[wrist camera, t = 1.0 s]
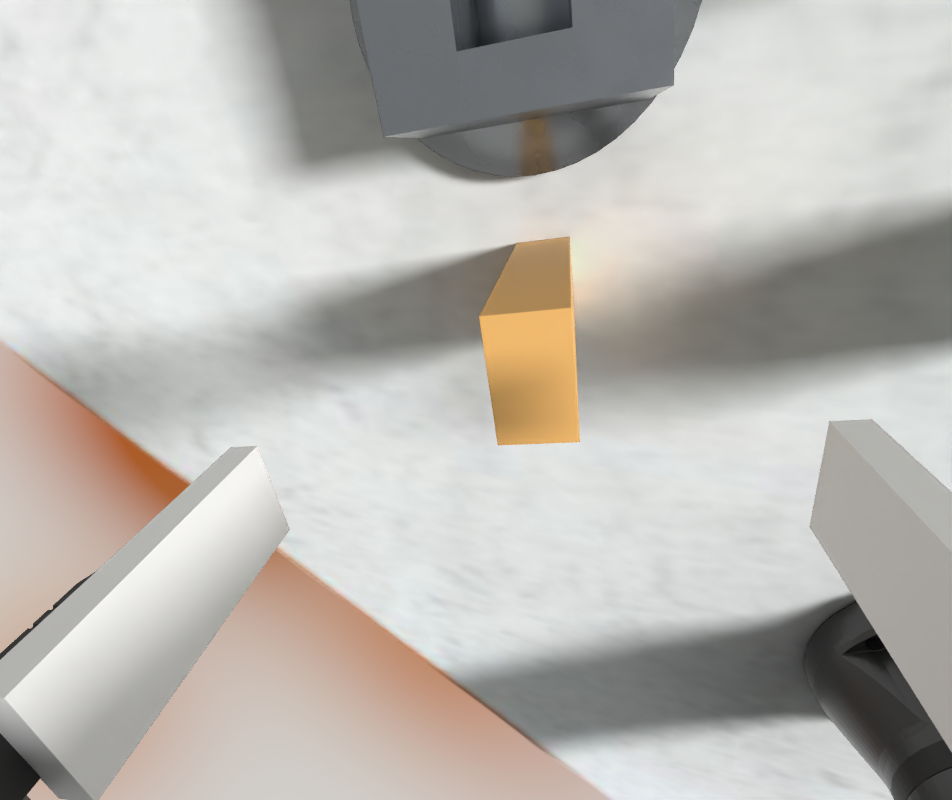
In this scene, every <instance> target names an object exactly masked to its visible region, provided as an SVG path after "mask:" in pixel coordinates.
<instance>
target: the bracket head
mask: <svg viewBox="0 0 952 800" xmlns="http://www.w3.org/2000/svg"><path fill="white" fill-rule="evenodd" d="M701 1H702V0H350V4H351V11H352V17H353V22H354V26H355V30H356V33H357V37H358V41H359V45H360V48H361V50H362V53H363V56H364V58H365V61H366V64H367V67H368V69H369V71H370V73H371V76H372V81H373V86H374V91H375V96H376V101H377V106H378V111H379V116H380V121H381V126H382V131H383V136H384V137H402V138H418V139H419V140H420V141H421V142H422V143H424V144H425V145H426V146H428V147H429V148H431V149H432V150H433V151H435V152H436V153H437V154H439V155H441V156H443V157H444V158H446V159H448V160H450V161H452V162H454V163H456V164H458V165H461V166H463V167H466V168H469V169H472V170H474V171H478V172H483V173H487V174H492V175H500V176H528V175H537V174H542V173H546V172H551V171H555V170H558V169H561V168H564V167H566V166H569V165H572V164H574V163H577V162H579V161H581V160H583V159H584V158H586V157H588V156H590V155H592V154H594V153H596V152H597V151H599V150H600V149H602V148H603V147H605V146H606V145H607V144H609V143H610V142H612V141H613V140H615V139H616V138H617V137H618V136H619V135H620V134H621V133H623V132H624V131H625V130H626V129H627V128H628V127H629V126H630V125H632V124H633V123H634V122H635V121H636V120H637V118H638V117H639V116H640V115H641V114H642V113H643V112H644V111H645V109H646V108H647V107H648V106H649V105H650V104H651V103H652V101H653V100H654V98H655V97H656V96H657V94H659V93H661V92H662V91H664V90H666V89H668V88H670V87H672V86H673V85H674V68H675V66H676V64H677V62H678V60H679V59H680V57H681V55H682V53H683V50H684V48H685V46H686V43H687V41H688V39H689V36H690V34H691V32H692V29H693V27H694V23H695V20H696V17H697V14H698V11H699V8H700V4H701Z"/></svg>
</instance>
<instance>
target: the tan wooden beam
mask: <svg viewBox="0 0 952 800" xmlns="http://www.w3.org/2000/svg"><path fill="white" fill-rule="evenodd" d="M479 320H480V326H481V333H482V340H483V347H484V354H485V361H486V367H487V374H488V381H489V388H490V395H491V401H492V408H493V415H494V422H495V429H496V436H497V442H498V445H516V444H541V443H566V442H580V437H579V413H578V388H577V363H576V338H575V316H574V300H573V284H572V268H571V252H570V237H563V238H555V239H547V240H538V241H530V242H522V243H517V244H516V246H515V248H514V249H513V251H512V253H511V255H510V257H509V259H508V261H507V263H506V265H505V267H504V269H503V271H502V273H501V275H500V277H499V279H498V281H497V282H496V284H495V286H494V288H493V290H492V292H491V294H490V296H489V298H488V300H487V302H486V304H485V306H484V308H483V310H482V312H481V314H480V315H479Z"/></svg>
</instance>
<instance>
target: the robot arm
mask: <svg viewBox="0 0 952 800" xmlns="http://www.w3.org/2000/svg"><path fill="white" fill-rule="evenodd" d="M810 528H811V530H812V531H813V533H814V535H815V536H816V538H817V539H818V541H819V542H820V544H821V546H822V547H823V549H824V550H825V552H826V554H827V555H828V557H829V558H830V560H831V562H832V563H833V565H834V566H835V568H836V569H837V571H838V573H839V574H840V576H841V577H842V579H843V581H844V582H845V584H846V585H847V587H848V589H849V590H850V592H851V593H852V595H853V596H854V598H855V600H856V601H857V602H856V603H854V604H852V605H850V606H848V607H846V608H845V609H843V610H841V611H840V612H838V613H837V614H835V615H834V616H832V617H831V618H830V619H829V620H827V621H826V622H825V623H824V624H823V625H822V626H821V627H820V628H819V629H818V630H817V631H816V633H815V634H814V635H813V637H812V638H811V640H810V642H809V644H808V646H807V648H806V652H805V656H804V669H805V673H806V676H807V678H808V681H809V683H810V685H811V687H812V690H813V692H814V694H815V696H816V698H817V701H818V702H819V704H820V706H821V707H822V709H823V711H824V712H825V714H826V715H827V716H828V717H829V718H830V719H831V721H832V722H833V723H834V724H835V725H836V726H837V728H838V729H839V730H840V731H841V732H842V734H843V735H844V736H845V737H846V738H847V740H848V741H849V742H850V743H851V744H852V745H853V747H854V748H855V749H856V750H857V751H858V752H859V754H860V755H861V756H862V757H863V758H864V759H865V761H866V762H867V763H868V764H869V765H870V766H871V768H872V769H873V770H874V771H875V772H876V773H877V775H878V776H879V777H880V778H881V779H882V780H883V782H884V783H885V784H886V786H887V787H888V789H889V791H890V793H891V795H892V796H893V798H894V800H952V492H951V491H950V490H949V489H948V488H947V487H945V486H944V485H943V484H942V483H941V482H940V481H939V480H938V479H937V478H936V477H934V476H933V475H932V474H931V473H930V472H929V471H928V470H927V469H926V468H925V467H924V466H922V465H921V464H920V463H919V462H918V461H917V460H916V459H915V458H914V457H913V456H912V455H910V454H909V453H908V452H907V451H906V450H905V449H904V448H903V447H902V446H901V445H900V444H898V443H897V442H896V441H895V440H894V439H893V438H892V437H891V436H890V435H889V434H887V433H886V432H885V431H884V430H883V429H882V428H881V427H880V426H879V425H878V424H877V423H875V422H874V421H873V420H850V421H829V426H828V432H827V437H826V442H825V448H824V453H823V458H822V464H821V469H820V474H819V480H818V485H817V490H816V495H815V501H814V506H813V511H812V517H811V522H810ZM289 530H290V529H289V526H288V524H287V521H286V519H285V516H284V514H283V511H282V509H281V506H280V503H279V501H278V498H277V496H276V493H275V491H274V488H273V486H272V483H271V480H270V478H269V475H268V473H267V470H266V468H265V465H264V463H263V460H262V458H261V455H260V452H259V450H258V447H257V446H249V447H231V448H230V449H228V450H227V451H226V452H225V453H224V454H223V455H222V456H221V457H220V458H219V459H218V460H217V461H215V462H214V463H213V464H212V465H211V466H210V467H209V468H208V469H207V470H206V471H205V472H203V473H202V474H201V475H200V476H199V477H198V478H197V479H196V480H195V481H194V482H193V483H192V484H190V485H189V486H188V487H187V488H186V489H185V490H184V491H183V492H182V493H181V494H180V495H179V496H178V497H176V498H175V499H174V500H173V501H172V502H171V503H170V504H169V505H168V506H167V507H166V508H164V509H163V510H162V511H161V512H160V513H159V514H158V515H157V516H156V517H155V518H154V519H153V520H151V522H149V523H148V524H147V525H146V526H145V527H144V528H143V529H142V530H141V531H140V532H138V533H137V534H136V535H135V536H134V537H133V538H132V539H131V540H130V541H129V542H128V543H126V545H124V546H123V547H122V548H121V549H120V550H119V551H118V552H117V553H116V554H115V555H114V556H112V557H111V558H110V559H109V560H108V561H107V562H106V563H105V564H104V565H103V566H101V567H100V568H99V569H98V570H97V571H96V572H94V573H93V574H91V575H90V576H88V577H87V578H85V579H83V580H82V581H80V582H79V583H77V584H76V585H75V586H74V587H73V588H72V589H71V590H70V591H68V592H67V593H66V594H65V595H64V596H63V597H62V598H61V599H60V600H59V601H58V602H56V603H55V604H54V605H53V609H52V610H48V611H47V612H45V613H44V614H43V615H42V616H41V617H40V618H39V619H38V620H37V621H36V622H34V623H33V627H32V628H31V629H27V630H26V631H25V632H23V633H22V634H21V635H20V636H19V637H18V638H17V639H16V640H15V641H14V642H12V644H10V645H9V646H8V647H7V648H6V649H5V650H4V651H3V652H2V653H0V800H30V798H28V797H27V794H28V792H29V791H30V790H31V789H32V787H33V786H34V785H35V784H36V783H37V781H38V780H39V779H41V780H42V781H43V782H44V783H45V784H46V785H47V786H48V787H49V788H50V789H51V790H52V791H53V792H54V794H55V795H56V796H57V797H58V798H60V799H68V800H99V799H100V797H101V796H102V795H103V793H104V792H105V790H106V789H107V787H108V786H109V785H110V783H111V782H112V780H113V779H114V778H115V776H116V775H117V773H118V772H119V770H120V769H121V767H122V766H123V765H124V763H125V762H126V761H127V759H128V758H129V756H130V755H131V753H132V752H133V751H134V749H135V748H136V746H137V745H138V744H139V742H140V741H141V739H142V738H143V736H144V735H145V734H146V732H147V731H148V729H149V728H150V727H151V725H152V724H153V722H154V721H155V719H156V718H157V717H158V715H159V714H160V712H161V711H162V709H163V708H164V707H165V705H166V704H167V702H168V701H169V700H170V698H171V697H172V695H173V694H174V693H175V691H176V690H177V688H178V687H179V685H180V684H181V683H182V681H183V680H184V678H185V677H186V676H187V674H188V673H189V671H190V670H191V668H192V667H193V666H194V664H195V663H196V661H197V660H198V659H199V657H200V656H201V654H202V653H203V651H204V650H205V649H206V647H207V646H208V644H209V643H210V642H211V640H212V639H213V637H214V636H215V634H216V633H217V631H218V630H219V629H220V627H221V626H222V624H223V623H224V622H225V620H226V619H227V617H228V616H229V614H230V613H231V612H232V610H233V609H234V608H235V606H236V605H237V603H238V602H239V601H240V599H241V598H242V596H243V595H244V593H245V592H246V591H247V589H248V588H249V586H250V585H251V583H252V582H253V581H254V579H255V578H256V576H257V575H258V574H259V572H260V571H261V569H262V568H263V567H264V565H265V563H266V562H267V561H268V559H269V558H270V557H271V555H272V554H273V552H274V551H275V550H276V548H277V547H278V545H279V544H280V542H281V541H282V540H283V538H284V537H285V535H286V534H287V533H288V531H289Z"/></svg>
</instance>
